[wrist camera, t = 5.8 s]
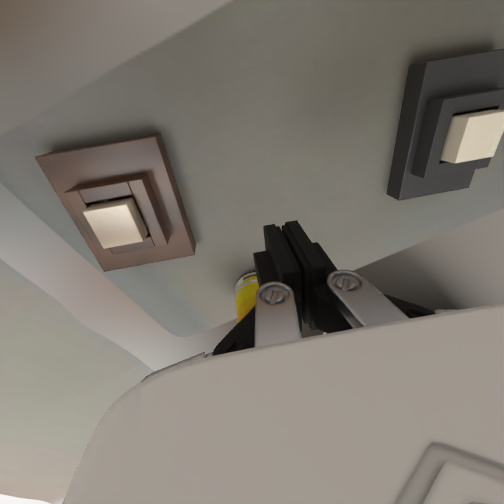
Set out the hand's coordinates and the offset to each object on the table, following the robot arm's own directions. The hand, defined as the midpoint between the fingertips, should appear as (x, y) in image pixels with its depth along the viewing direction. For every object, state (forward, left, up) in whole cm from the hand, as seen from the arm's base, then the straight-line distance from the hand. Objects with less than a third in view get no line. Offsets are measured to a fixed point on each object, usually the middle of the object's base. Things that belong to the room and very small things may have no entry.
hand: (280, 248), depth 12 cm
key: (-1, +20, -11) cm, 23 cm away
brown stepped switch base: (+1, -12, -15) cm, 19 cm away
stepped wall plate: (-1, +20, -15) cm, 25 cm away
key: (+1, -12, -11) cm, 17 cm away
